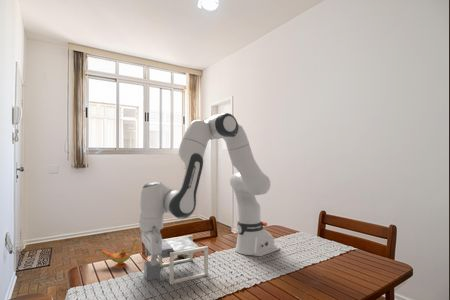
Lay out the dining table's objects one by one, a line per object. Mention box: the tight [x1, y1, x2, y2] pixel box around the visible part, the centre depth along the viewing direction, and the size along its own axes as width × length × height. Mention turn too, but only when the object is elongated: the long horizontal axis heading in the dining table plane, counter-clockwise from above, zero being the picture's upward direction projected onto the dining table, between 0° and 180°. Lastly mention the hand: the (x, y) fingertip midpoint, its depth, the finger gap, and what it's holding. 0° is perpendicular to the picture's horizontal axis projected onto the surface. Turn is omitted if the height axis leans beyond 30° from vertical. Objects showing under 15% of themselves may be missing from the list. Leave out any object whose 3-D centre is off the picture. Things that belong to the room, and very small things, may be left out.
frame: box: [158, 234, 209, 285], centre depth 103 cm, size 15×18×11 cm
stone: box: [143, 260, 161, 281], centre depth 98 cm, size 5×5×5 cm
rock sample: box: [176, 252, 195, 259], centre depth 118 cm, size 10×8×9 cm
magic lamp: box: [96, 240, 139, 269], centre depth 108 cm, size 7×18×11 cm, turn 88°
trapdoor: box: [160, 237, 200, 259], centre depth 102 cm, size 14×14×3 cm
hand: (150, 259), depth 98 cm, fingers open, 8 cm apart
